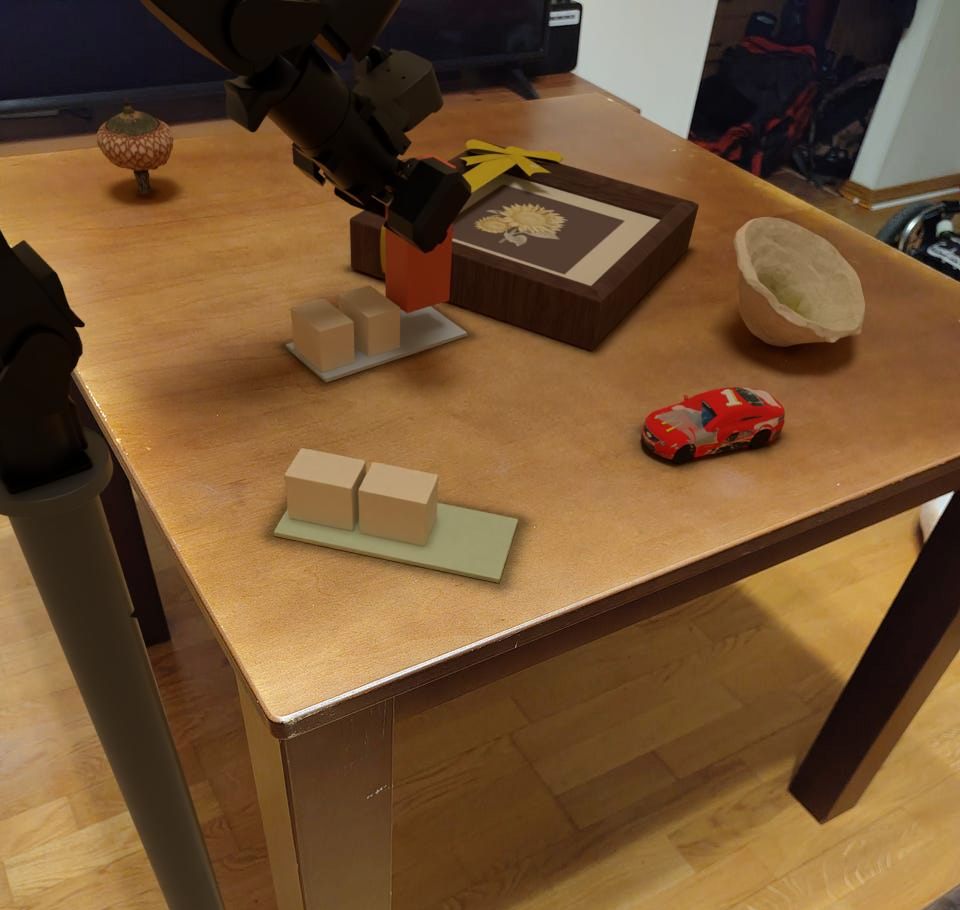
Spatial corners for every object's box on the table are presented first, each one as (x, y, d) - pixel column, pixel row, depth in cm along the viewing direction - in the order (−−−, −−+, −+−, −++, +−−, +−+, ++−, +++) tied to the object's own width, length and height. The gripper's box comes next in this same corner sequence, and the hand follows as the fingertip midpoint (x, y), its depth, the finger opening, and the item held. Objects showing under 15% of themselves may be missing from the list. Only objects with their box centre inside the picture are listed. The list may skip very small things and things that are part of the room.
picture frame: (345, 206, 89) (487, 126, 107) (347, 271, 94) (482, 183, 112) (601, 290, 81) (706, 188, 100) (589, 355, 86) (691, 247, 105)
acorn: (149, 174, 107) (132, 79, 100) (198, 194, 104) (183, 98, 97) (93, 193, 102) (70, 95, 95) (142, 214, 99) (122, 116, 92)
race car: (657, 470, 74) (667, 430, 71) (627, 434, 78) (636, 393, 75) (788, 445, 78) (803, 406, 75) (754, 411, 81) (767, 372, 78)
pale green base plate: (273, 535, 65) (267, 488, 62) (307, 479, 70) (303, 432, 67) (499, 583, 64) (505, 536, 60) (517, 522, 68) (524, 476, 65)
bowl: (805, 394, 84) (845, 293, 77) (682, 336, 90) (708, 236, 83) (875, 342, 92) (917, 245, 85) (758, 291, 98) (788, 197, 91)
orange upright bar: (407, 313, 83) (409, 177, 74) (385, 298, 84) (384, 163, 75) (449, 300, 85) (456, 166, 76) (427, 285, 87) (431, 153, 78)
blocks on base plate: (325, 382, 79) (323, 337, 76) (286, 348, 83) (281, 303, 80) (467, 336, 87) (470, 293, 84) (425, 305, 90) (426, 263, 87)
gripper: (459, 52, 61) (554, 190, 75) (314, -14, 70) (421, 119, 84) (366, 193, 63) (475, 302, 77) (236, 111, 72) (354, 221, 86)
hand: (431, 231), depth 81 cm, fingers closed on orange upright bar, 3 cm apart
